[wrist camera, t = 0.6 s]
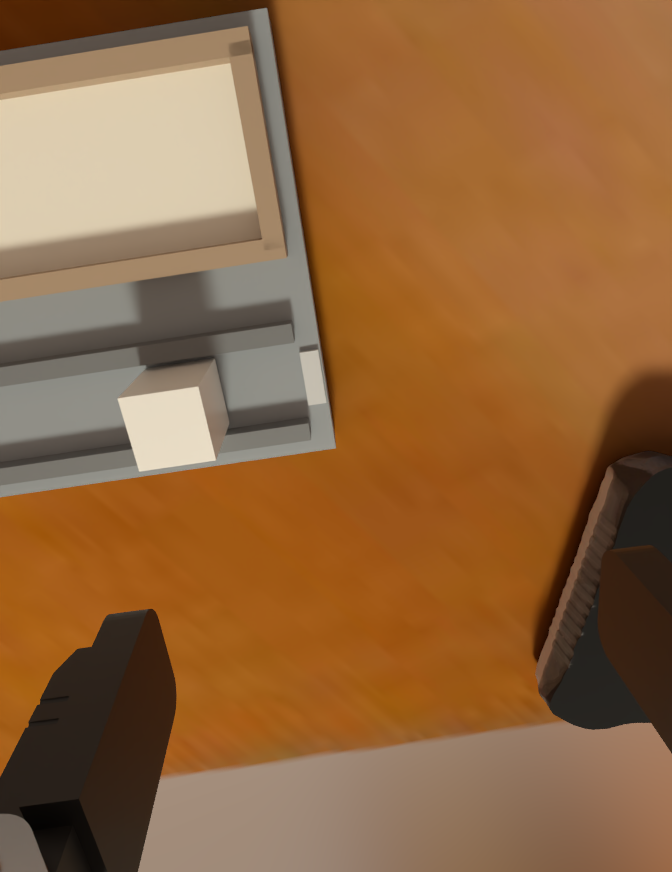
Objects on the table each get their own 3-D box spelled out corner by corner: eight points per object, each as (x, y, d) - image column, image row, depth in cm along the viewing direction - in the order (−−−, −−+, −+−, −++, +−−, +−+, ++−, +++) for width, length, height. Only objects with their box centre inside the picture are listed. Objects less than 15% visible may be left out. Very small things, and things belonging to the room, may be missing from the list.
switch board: (270, 22, 23) (264, -3, 20) (334, 431, 29) (336, 459, 26) (-214, 100, 23) (-291, 87, 20) (-46, 487, 30) (-85, 520, 27)
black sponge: (605, 427, 30) (642, 458, 27) (761, 450, 31) (816, 482, 28) (517, 676, 36) (538, 727, 33) (649, 690, 37) (682, 741, 34)
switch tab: (214, 358, 26) (197, 386, 22) (229, 422, 27) (216, 460, 23) (145, 368, 26) (117, 398, 22) (163, 432, 27) (139, 471, 23)
